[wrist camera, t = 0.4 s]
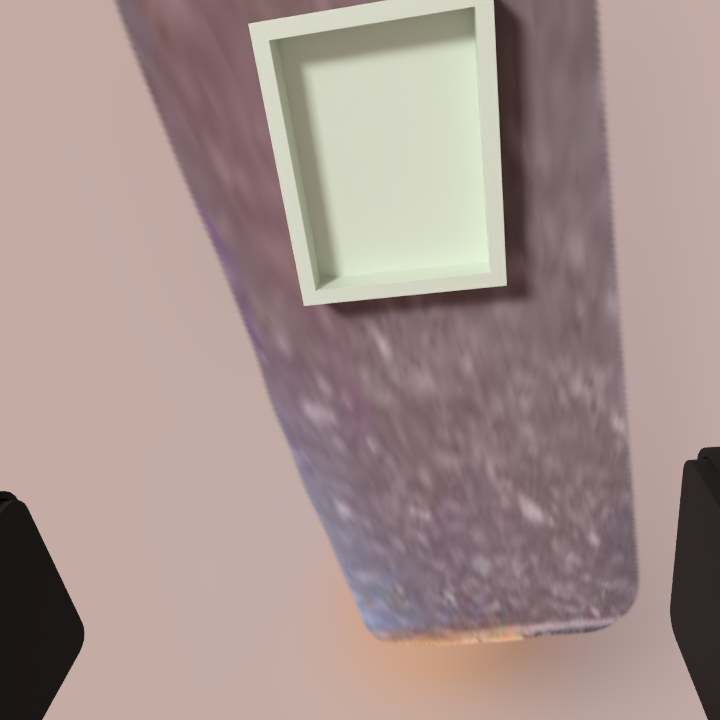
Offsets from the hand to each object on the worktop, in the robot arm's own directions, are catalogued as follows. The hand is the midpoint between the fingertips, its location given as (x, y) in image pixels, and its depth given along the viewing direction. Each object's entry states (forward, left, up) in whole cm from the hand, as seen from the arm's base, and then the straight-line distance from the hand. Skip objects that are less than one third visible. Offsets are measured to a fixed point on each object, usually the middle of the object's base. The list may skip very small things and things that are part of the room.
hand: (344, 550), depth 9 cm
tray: (-1, -1, -28) cm, 28 cm away
